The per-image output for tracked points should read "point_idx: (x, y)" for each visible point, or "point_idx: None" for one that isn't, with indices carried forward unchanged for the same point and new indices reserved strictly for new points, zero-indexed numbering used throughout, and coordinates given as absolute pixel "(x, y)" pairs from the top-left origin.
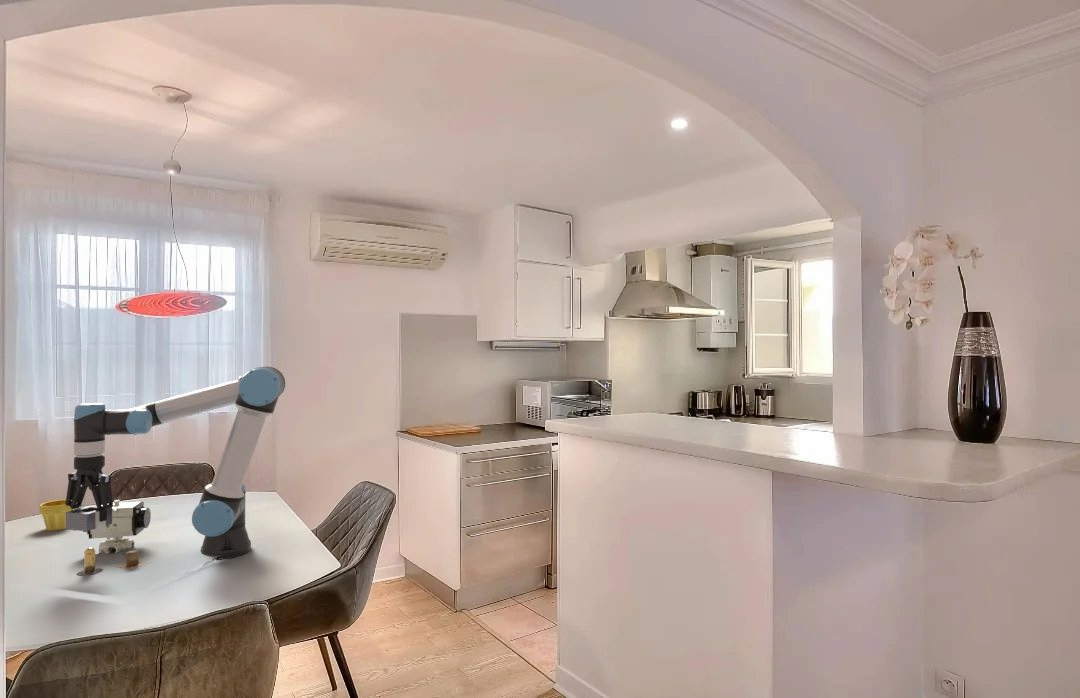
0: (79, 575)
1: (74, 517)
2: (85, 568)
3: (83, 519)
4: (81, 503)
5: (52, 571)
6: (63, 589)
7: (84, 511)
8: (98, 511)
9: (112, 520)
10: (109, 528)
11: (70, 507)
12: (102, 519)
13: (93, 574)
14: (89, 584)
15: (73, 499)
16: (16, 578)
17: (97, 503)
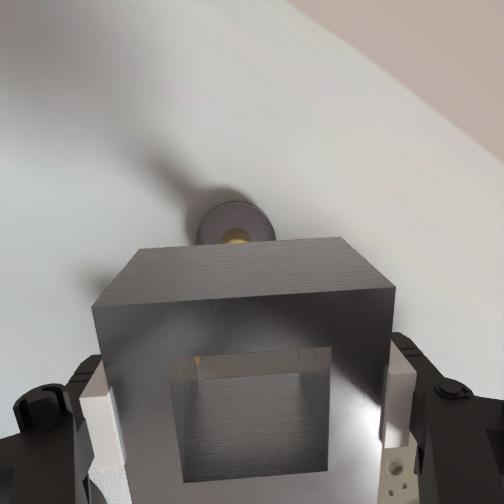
0: (237, 206)
1: (263, 276)
2: (236, 233)
3: (152, 280)
4: (418, 474)
5: (414, 234)
6: (205, 123)
7: (323, 404)
8: (42, 394)
9: (387, 499)
10: (383, 459)
11: (457, 382)
12: (78, 367)
13: (198, 231)
14: (165, 189)
15: (476, 465)
16: (477, 147)
17: (42, 479)
